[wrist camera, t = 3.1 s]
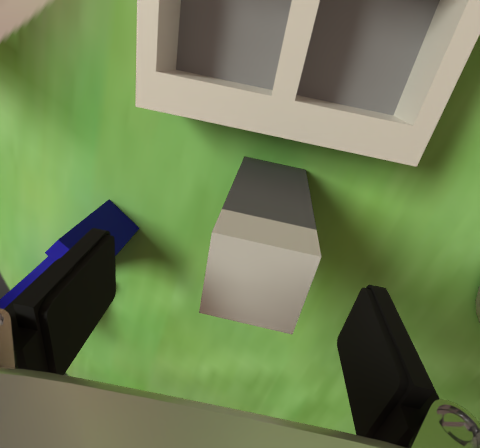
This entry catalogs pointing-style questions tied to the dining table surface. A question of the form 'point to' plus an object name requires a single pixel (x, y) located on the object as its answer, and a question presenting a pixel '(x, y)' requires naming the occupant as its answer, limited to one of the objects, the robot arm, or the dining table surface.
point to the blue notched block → (101, 218)
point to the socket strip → (308, 67)
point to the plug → (262, 248)
